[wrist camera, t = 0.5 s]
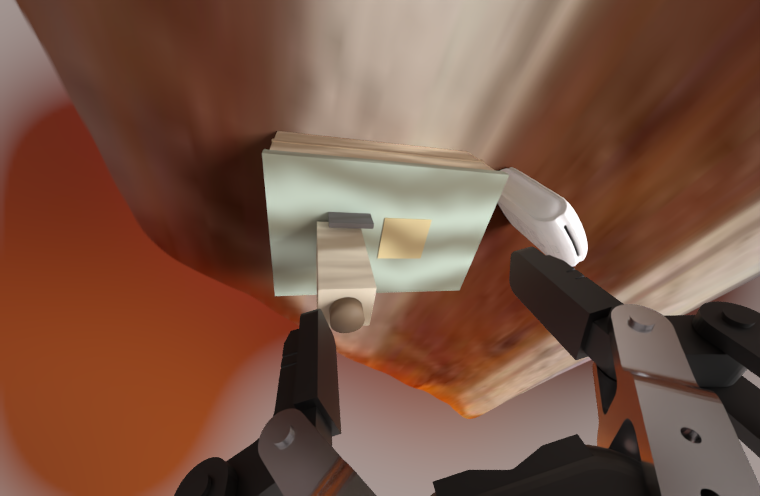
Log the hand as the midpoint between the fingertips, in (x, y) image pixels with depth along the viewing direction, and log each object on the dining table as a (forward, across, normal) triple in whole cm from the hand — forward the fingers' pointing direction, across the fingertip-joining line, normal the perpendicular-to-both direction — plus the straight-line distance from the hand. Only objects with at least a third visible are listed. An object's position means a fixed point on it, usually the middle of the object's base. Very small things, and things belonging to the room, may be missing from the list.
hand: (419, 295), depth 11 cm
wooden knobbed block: (+16, +4, +5) cm, 17 cm away
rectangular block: (+25, -1, +6) cm, 25 cm away
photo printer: (+25, -20, +11) cm, 34 cm away
